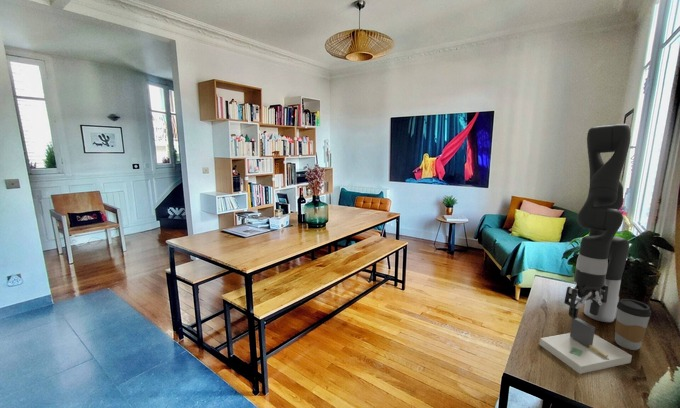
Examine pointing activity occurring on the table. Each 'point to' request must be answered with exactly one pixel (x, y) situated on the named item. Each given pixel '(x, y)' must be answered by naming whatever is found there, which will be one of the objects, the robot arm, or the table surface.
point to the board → (584, 353)
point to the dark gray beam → (584, 334)
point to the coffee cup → (631, 323)
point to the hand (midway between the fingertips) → (583, 315)
